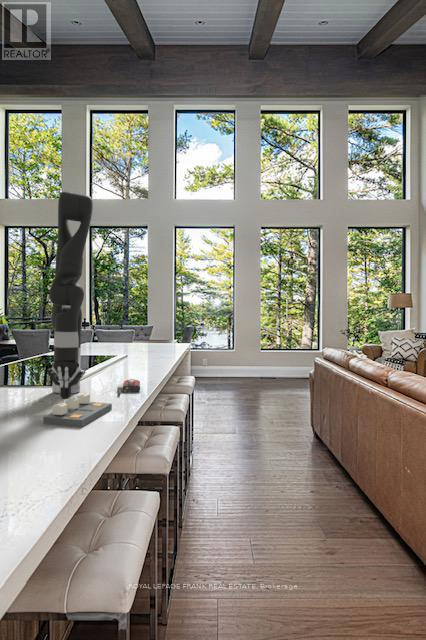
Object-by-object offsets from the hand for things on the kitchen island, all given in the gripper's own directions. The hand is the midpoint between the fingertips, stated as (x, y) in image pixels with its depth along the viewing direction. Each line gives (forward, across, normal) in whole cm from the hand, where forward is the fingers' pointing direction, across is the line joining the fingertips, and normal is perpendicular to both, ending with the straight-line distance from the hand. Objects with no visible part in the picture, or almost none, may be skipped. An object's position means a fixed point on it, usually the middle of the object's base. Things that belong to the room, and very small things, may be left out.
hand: (65, 398), depth 137 cm
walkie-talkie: (+4, +10, +31) cm, 33 cm away
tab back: (+1, +6, 0) cm, 6 cm away
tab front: (+1, +6, -14) cm, 15 cm away
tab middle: (+1, +6, -7) cm, 9 cm away
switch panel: (+4, +8, -7) cm, 12 cm away
